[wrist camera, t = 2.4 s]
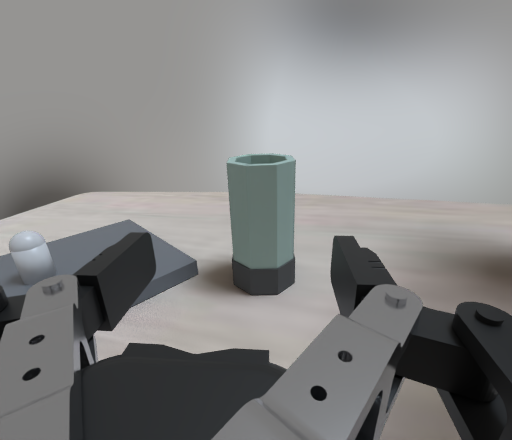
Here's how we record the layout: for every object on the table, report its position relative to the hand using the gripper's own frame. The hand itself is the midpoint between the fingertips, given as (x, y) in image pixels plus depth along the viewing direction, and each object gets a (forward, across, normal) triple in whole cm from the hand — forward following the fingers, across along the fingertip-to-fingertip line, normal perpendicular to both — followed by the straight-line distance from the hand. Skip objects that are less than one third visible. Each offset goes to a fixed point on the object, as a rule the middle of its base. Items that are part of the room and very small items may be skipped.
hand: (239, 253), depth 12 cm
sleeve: (+12, 0, +9) cm, 15 cm away
